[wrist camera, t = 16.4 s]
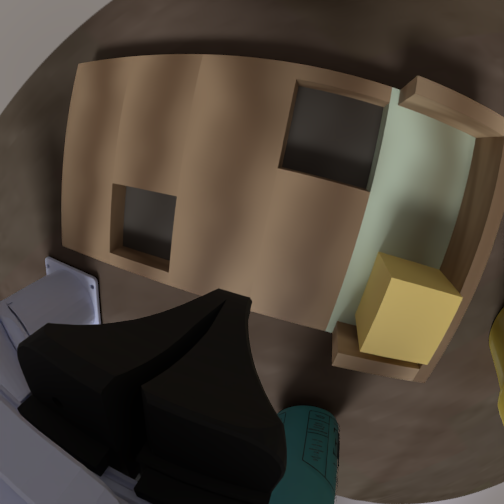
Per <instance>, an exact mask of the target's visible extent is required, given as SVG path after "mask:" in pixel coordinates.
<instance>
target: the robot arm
mask: <svg viewBox="0 0 504 504" xmlns="http://www.w3.org/2000/svg"><path fill="white" fill-rule="evenodd" d="M45 263H46V272H47V276H45V277H43V278H41V279H39V280H37V281H36V282H34V283H32V284H30V285H28V286H27V287H25V288H23V289H21V290H19V291H18V292H16V293H14V294H12V295H11V296H9V297H7V298H6V299H3V300H1V301H0V504H269V501H270V497H271V493H272V491H273V490H274V488H275V487H276V486H277V485H278V483H279V482H280V481H281V479H282V478H283V476H284V474H285V471H286V465H287V445H286V436H285V429H284V424H283V423H282V421H281V420H280V418H279V417H278V415H277V413H276V412H275V410H274V408H273V407H272V405H271V403H270V401H269V399H268V397H267V395H266V394H265V391H264V389H263V387H262V384H261V382H260V379H259V377H258V374H257V372H256V368H255V365H254V362H253V358H252V353H251V348H250V342H249V334H248V318H249V314H250V310H251V305H252V300H251V298H250V297H246V296H243V295H240V294H236V293H233V292H229V291H226V290H223V289H219V288H218V289H216V290H214V291H212V292H209V293H207V294H205V295H203V296H201V297H199V298H197V299H194V300H192V301H190V302H188V303H185V304H183V305H180V306H178V307H175V308H172V309H170V310H167V311H164V312H161V313H158V314H155V315H151V316H147V317H143V318H139V319H135V320H129V321H122V322H116V323H108V324H101V318H100V307H99V294H98V281H97V279H96V277H94V276H92V275H90V274H87V273H85V272H83V271H80V270H78V269H76V268H73V267H71V266H69V265H67V264H64V263H62V262H60V261H58V260H56V259H54V258H51V257H49V256H48V257H46V259H45ZM93 286H94V287H93Z"/></svg>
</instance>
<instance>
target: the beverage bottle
mask: <svg viewBox="0 0 504 504" xmlns="http://www.w3.org/2000/svg"><path fill="white" fill-rule="evenodd" d="M277 415H278V417H279V418H280V420H281V421H282V423H283V424H284V429H285V436H286V445H287V465H286V471H285V474H284V476H283V478H282V479H281V481H280V482H279V483H278V485H277V486H276V487H275V488H274V490H273V491H272V493H271V497H270V501H269V504H334V499H335V496H336V495H335V487H336V482H338V480H337V481H336V478H337V477H336V473H338V472H337V468H338V467H337V459H338V466H339V442H340V441H339V438H340V437H339V433H338V430H339V429H338V425H339V424H337V421H336V419H335V417H334V416H333V415H332V414H331V413H330V412H328V411H326V410H324V409H321V408H318V407H314V406H303V405H302V406H293V407H289V408H286V409H284V410H282V411H280V412H279V413H278V414H277ZM337 484H338V483H337ZM337 487H338V485H337ZM337 489H338V488H337Z"/></svg>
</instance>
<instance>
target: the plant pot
mask: <svg viewBox="0 0 504 504" xmlns="http://www.w3.org/2000/svg"><path fill="white" fill-rule="evenodd" d="M489 347H490V350H491V354H492V357H493V361H494V364H495V368H496V372H497V376H498V381H499V385H500V393H499V398H498V410H499V413H500V416H501V419H502V422H503V425H504V307H503V308H502V310H501V311H500V313H499V314H498V315H497V317H496V319H495V321H494V323H493V325H492V328H491V331H490V335H489Z"/></svg>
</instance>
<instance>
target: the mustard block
mask: <svg viewBox="0 0 504 504" xmlns="http://www.w3.org/2000/svg"><path fill="white" fill-rule="evenodd" d="M462 299H463V297H462V296H461V294H460V293H459V292H458V291H457V290H456V288H455V287H454V286H453V285H452V284H451V283H450V281H449V280H448V279H447V278H446V277H445V276H444V274H443V273H442V272H441V271H440V270H439V269H436V268H432V267H429V266H426V265H422V264H419V263H416V262H413V261H409V260H406V259H402V258H399V257H396V256H392V255H389V254H385V253H382V252H378V254H377V257H376V260H375V263H374V265H373V268H372V271H371V274H370V277H369V279H368V282H367V285H366V288H365V290H364V293H363V296H362V298H361V301H360V303H359V306H358V308H357V311H356V313H355V319H356V326H357V334H358V342H359V350H360V352H364V353H369V354H374V355H378V356H383V357H388V358H393V359H398V360H403V361H409V362H414V363H420V364H425V365H428V363H429V361H430V360H431V358H432V356H433V355H434V353H435V351H436V349H437V348H438V346H439V344H440V342H441V341H442V339H443V337H444V335H445V333H446V331H447V329H448V327H449V326H450V324H451V322H452V320H453V318H454V316H455V314H456V312H457V309H458V307H459V305H460V303H461V301H462Z"/></svg>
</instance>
